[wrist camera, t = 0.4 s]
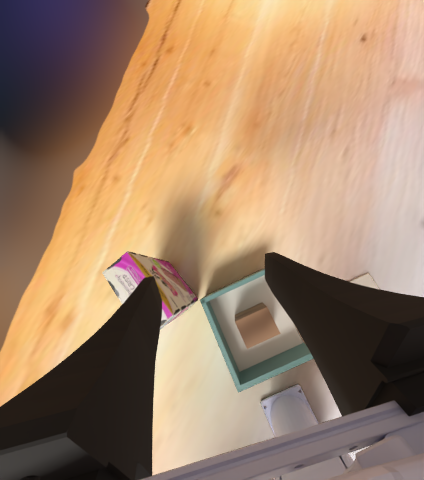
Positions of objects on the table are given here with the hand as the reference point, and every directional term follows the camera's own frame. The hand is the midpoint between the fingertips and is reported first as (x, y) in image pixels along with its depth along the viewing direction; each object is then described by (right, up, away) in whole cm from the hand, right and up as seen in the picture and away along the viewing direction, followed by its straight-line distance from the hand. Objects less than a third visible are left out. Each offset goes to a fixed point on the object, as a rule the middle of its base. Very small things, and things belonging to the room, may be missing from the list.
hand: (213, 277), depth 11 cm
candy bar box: (-8, -8, +28) cm, 30 cm away
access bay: (+8, -14, +24) cm, 29 cm away
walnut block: (+8, -13, +22) cm, 27 cm away
